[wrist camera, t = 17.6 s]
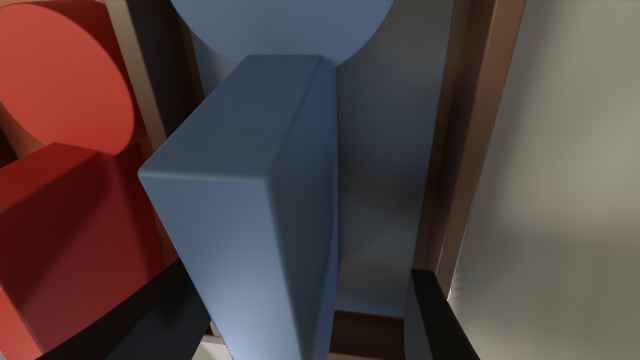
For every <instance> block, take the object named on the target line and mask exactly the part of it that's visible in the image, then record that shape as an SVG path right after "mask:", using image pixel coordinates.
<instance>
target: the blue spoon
mask: <svg viewBox="0 0 640 360" xmlns="http://www.w3.org/2000/svg"><path fill="white" fill-rule="evenodd" d="M171 2H172V4H173V5H174V7H175V9H176V10H177V11H178V13H179V14H180V16H181V17H182V18H183V20H184V21H185V23H186V24H187V25H188V26H189V27H190V28H191V29H192V31H193V32H194V33H195V34H196V35H197V36H198V37H199V38H200V39H201V40H202V41H203V42H204V43H205V44H206V45H208V46H209V47H210V48H211V49H213V50H214V51H215V52H216V53H218V54H219V55H220V56H222V57H224V58H225V59H227V60H228V61H230V62H232V63H233V64H235V65H237V66H236V67H235V68H234V69H233V70H232V72H231V73H230V74H229V75H228V76H227V77H226V78H225V79H224V80H223V81H222V82H221V83H220V84H219V85H218V86H217V87H216V88H215V89H214V90H213V92H212V93H211V94H210V95H209V96H208V97H207V98H206V99H205V100H204V101H203V102H202V103H201V104H200V105H199V106H198V107H197V108H196V109H195V110H194V112H193V113H192V114H191V115H190V116H189V117H188V118H187V119H186V120H185V121H184V122H183V123H182V124H181V125H180V126H179V127H178V128H177V129H176V131H175V132H174V133H173V134H172V135H171V136H170V137H169V138H168V139H167V140H166V141H165V142H164V143H163V144H162V145H161V146H160V147H159V148H158V149H157V151H156V152H155V153H154V154H153V155H152V156H151V157H150V158H149V159H148V160H147V161H146V162H145V163H144V164H143V165H142V166H141V167H140V168H139V171H138V177H139V179H140V181H141V183H142V185H143V187H144V189H145V191H146V193H147V195H148V196H149V198H150V200H151V202H152V204H153V206H154V208H155V210H156V212H157V214H158V216H159V218H160V220H161V222H162V224H163V225H164V227H165V229H166V231H167V233H168V235H169V237H170V239H171V241H172V243H173V245H174V247H175V249H176V251H177V253H178V254H179V256H180V258H181V260H182V262H183V264H184V266H185V268H186V270H187V272H188V274H189V276H190V278H191V280H192V281H193V283H194V285H195V287H196V289H197V291H198V293H199V295H200V297H201V299H202V301H203V303H204V305H205V307H206V309H207V310H208V312H209V314H210V316H211V318H212V320H213V322H214V324H215V326H216V328H217V330H218V332H219V334H220V336H221V337H222V339H223V341H224V343H225V345H226V347H227V349H228V351H229V353H230V355H231V357H232V359H233V360H328V354H329V347H330V339H331V332H332V324H333V317H334V309H335V302H336V294H337V287H338V279H339V272H340V223H339V179H338V135H337V92H336V66H337V65H339V64H341V63H343V62H344V61H346V60H347V59H349V58H350V57H351V56H353V55H354V54H355V53H356V52H357V51H359V50H360V49H361V48H362V47H363V46H364V45H365V44H366V43H367V42H368V41H369V40H370V38H371V37H372V36H373V35H374V34H375V33H376V31H377V30H378V28H379V27H380V25H381V24H382V23H383V21H384V20H385V18H386V16H387V14H388V12H389V10H390V8H391V7H392V5H393V3H394V0H171Z"/></svg>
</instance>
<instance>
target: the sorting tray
mask: <svg viewBox="0 0 640 360" xmlns="http://www.w3.org/2000/svg"><path fill="white" fill-rule="evenodd" d="M34 1H49V0H0V8H1V7H3V6H5V5H9V4H12V3H20V2H34ZM91 1H95V2H98V3H100V4H103V5H105V6H106V7H107V10H108V14H109V17H110V20H111V23H112V26H113V29H114V32H115V35H116V38H117V41H118V44H119V47H120V50H121V53H122V56H123V59H124V62H125V66H126V69H127V72H128V75H129V78H130V81H131V84H132V87H133V90H134V93H135V96H136V99H137V102H138V105H139V108H140V111H141V115H142V118H143V121H144V124H145V127H146V130H147V133H148V135H147V136H145V137H144V138H142V139H141V140H139V143H140V148H141V153H142V158H143V163H145V162H146V161H147V160H148V159H149V158H150V157H151V156H152V155H153V154H154V153H155V152H156V151H157V149H158V148H159V147H160V146H161V145H162V144H163V143H164V142H165V141H166V140H167V139H168V138H169V137H170V136H171V135H172V134H173V133H174V132H175V131H176V129H177V128H178V127H179V126H180V125H181V124H182V123H183V122H184V121H185V120H186V119H187V118H188V117H189V116H190V115H191V114H192V113H193V112H194V110H195V109H196V108H197V107H198V106H199V105H200V104H201V103H202V102H203V101H204V100H205V99H206V98H207V97H208V96H209V95H210V94H211V93H212V92H213V90H214V89H215V88H216V87H217V86H218V85H219V84H220V83H221V82H222V81H223V80H224V79H225V78H226V77H227V76H228V75H229V74H230V73H231V72H232V70H233V69H234V68H235V67H236V66H237V65H235V64H233V63H232V62H230V61H228V60H227V59H225V58H224V57H222V56H220V55H219V54H218V53H216V52H215V51H214V50H213V49H211V48H210V47H209V46H208V45H206V44H205V43H204V42H203V41H202V40H201V39H200V38H199V37H198V36H197V35H196V34H195V33H194V32H193V31H192V29H191V28H190V27H189V26H188V25H187V24H186V23H185V21H184V20H183V18H182V17H181V16H180V14H179V13H178V11H177V10H176V9H175V7H174V5H173V4H172V2H171V0H91ZM525 4H526V0H394V3H393V5H392V7H391V8H390V10H389V12H388V14H387V16H386V18H385V20H384V21H383V23H382V24H381V25H380V27H379V28H378V30H377V31H376V33H375V34H374V35H373V36H372V37H371V38H370V40H369V41H368V42H367V43H366V44H365V45H364V46H363V47H362V48H361V49H360V50H359V51H357V52H356V53H355V54H354V55H353V56H351V57H350V58H349V59H347V60H346V61H344V62H343V63H341V64H339V65H337V66H336V92H337V135H338V179H339V223H340V272H339V279H338V287H337V294H336V302H335V309H334V317H333V324H332V332H331V339H330V347H329V354H328V360H406V357H405V348H404V308H405V302H406V296H407V289H408V283H409V277H410V271H411V269H420V270H430V271H433V272H434V273H435V274H436V277H437V279H438V281H439V284H440V286H441V288H442V290H443V293H444V295H445V297H446V299H447V301H448V299H449V296H450V292H451V288H452V284H453V280H454V276H455V273H456V269H457V265H458V261H459V257H460V253H461V250H462V246H463V242H464V238H465V234H466V230H467V227H468V223H469V219H470V215H471V211H472V207H473V203H474V200H475V196H476V192H477V188H478V184H479V180H480V177H481V173H482V169H483V165H484V161H485V157H486V154H487V150H488V146H489V142H490V138H491V134H492V131H493V127H494V123H495V119H496V115H497V111H498V107H499V104H500V100H501V96H502V92H503V88H504V84H505V81H506V77H507V73H508V69H509V65H510V61H511V58H512V54H513V50H514V46H515V42H516V38H517V35H518V31H519V27H520V23H521V19H522V15H523V12H524V8H525ZM45 146H46V145H45V144H43V143H42V142H40V141H39V140H38V139H36V138H35V137H34V136H32V135H31V134H30V133H29V132H28V131H27V130H25V129H24V128H23V127H22V126H21V125H20V124H19V123H18V122H17V121H16V120H15V119H14V118H13V116H12V115H11V114H10V113H9V111H8V110H7V109H6V108H5V106H4V105H3V103H2V102H1V101H0V169H1V168H3V167H5V166H7V165H9V164H11V163H13V162H15V161H17V160H19V159H21V158H23V157H25V156H27V155H29V154H31V153H33V152H35V151H37V150H39V149H41V148H43V147H45ZM151 203H152V202H151ZM152 208H153V213H154V218H155V223H156V228H157V233H158V238H159V243H160V248H161V253H162V258H163V263H164V268H165V269H166V268H167V267H168V266H169V265H171V264H172V263H173V262H174V261H176V260H177V259H178V258H179V257H180V256H179V254H178V253H177V251H176V249H175V247H174V245H173V243H172V241H171V239H170V237H169V235H168V233H167V231H166V229H165V227H164V225H163V224H162V222H161V220H160V218H159V216H158V214H157V212H156V210H155V208H154V206H153V204H152ZM201 342H208V343H214V344H221V345H225V343H224V341H223V339H222V337H221V336H220V334H219V332H218V330H217V328H216V326H215V324H214V322H213V320H211V322H210V324H209V326H208V328H207V330H206V332H205V334H204V336H203V338H202V340H201Z"/></svg>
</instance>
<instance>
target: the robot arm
mask: <svg viewBox="0 0 640 360" xmlns="http://www.w3.org/2000/svg"><path fill="white" fill-rule="evenodd" d="M211 320H212V318H211V316H210V314H209V312H208V310H207V309H206V307H205V305H204V303H203V301H202V299H201V297H200V295H199V293H198V291H197V289H196V287H195V285H194V283H193V281H192V280H191V278H190V276H189V274H188V272H187V270H186V268H185V266H184V264H183V262H182V260H181V258H180V257H179V258H178V259H177V260H176V261H174V262H173V263H172V264H171V265H169V266H168V267H167V268H166V269H164V270H163V271H162V272H160V273H159V274H158V275H157V276H155V277H154V278H153V279H152V280H150V281H149V282H148V283H146V284H145V285H144V286H143V287H141V288H140V289H139V290H137V291H136V292H135V293H134V294H132V295H131V296H130V297H128V298H127V299H125V300H124V301H123V302H121V303H120V304H118V305H117V306H116V307H114V308H113V309H112V310H110V311H109V312H107V313H106V314H105V315H103V316H102V317H100V318H99V319H98V320H96V321H95V322H93V323H92V324H90V325H89V326H88V327H86V328H85V329H83V330H81V331H80V332H78V333H77V334H75V335H74V336H72V337H71V338H69V339H68V340H66V341H64V342H63V343H61V344H60V345H58V346H56V347H55V348H53V349H52V350H50V351H48V352H47V353H45V354H43V355H42V356H40V357H38V358H36V359H35V360H191V359H192V357H193V356H194V354H195V352H196V350H197V348H198V346H199V344H200V342H201V340H202V338H203V336H204V334H205V332H206V330H207V328H208V326H209V324H210V322H211ZM404 348H405V357H406V360H480V358H479V357H478V355H477V353H476V352H475V350H474V348H473V347H472V345H471V343H470V341H469V340H468V338H467V336H466V334H465V333H464V331H463V329H462V327H461V326H460V324H459V322H458V320H457V318H456V316H455V315H454V313H453V311H452V309H451V307H450V305H449V303H448V301H447V299H446V297H445V295H444V293H443V290H442V288H441V286H440V284H439V281H438V279H437V277H436V274H435V273H434V272H433V271H430V270H420V269H411V271H410V277H409V283H408V289H407V296H406V302H405V308H404ZM0 360H7V359H6V358H5V356H4V355H3V354H2V352H1V351H0Z"/></svg>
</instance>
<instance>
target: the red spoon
mask: <svg viewBox="0 0 640 360" xmlns="http://www.w3.org/2000/svg"><path fill="white" fill-rule="evenodd" d="M0 101H1V102H2V103H3V105H4V106H5V108H6V109H7V110H8V111H9V113H10V114H11V115H12V116H13V118H14V119H15V120H16V121H17V122H18V123H19V124H20V125H21V126H22V127H23V128H24V129H25V130H27V131H28V132H29V133H30V134H31V135H32V136H34V137H35V138H36V139H38V140H39V141H40V142H42V143H43V144H45V145H46V146H45V147H43V148H41V149H39V150H37V151H35V152H33V153H31V154H29V155H27V156H25V157H23V158H21V159H19V160H17V161H15V162H13V163H11V164H9V165H7V166H5V167H3V168H1V169H0V351H1V352H2V354H3V355H4V356H5V358H6V359H7V360H35V359H36V358H38V357H40V356H42V355H43V354H45V353H47V352H48V351H50V350H52V349H53V348H55V347H56V346H58V345H60V344H61V343H63V342H64V341H66V340H68V339H69V338H71V337H72V336H74V335H75V334H77V333H78V332H80V331H81V330H83V329H85V328H86V327H88V326H89V325H90V324H92V323H93V322H95V321H96V320H98V319H99V318H100V317H102V316H103V315H105V314H106V313H107V312H109V311H110V310H112V309H113V308H114V307H116V306H117V305H118V304H120V303H121V302H123V301H124V300H125V299H127V298H128V297H130V296H131V295H132V294H134V293H135V292H136V291H137V290H139V289H140V288H141V287H143V286H144V285H145V284H146V283H148V282H149V281H150V280H152V279H153V278H154V277H155V276H157V275H158V274H159V273H160V272H162V271H163V270H164V269H165V268H164V263H163V258H162V253H161V248H160V243H159V238H158V233H157V228H156V223H155V218H154V213H153V208H152V203H151V200H150V198H149V196H148V195H147V193H146V191H145V189H144V187H143V185H142V183H141V181H140V179H139V177H138V171H139V168H140V167H141V166H142V165H143V164H144V163H143V158H142V153H141V148H140V143H139V140H141V139H142V138H144V137H145V136H147V135H148V133H147V130H146V127H145V124H144V121H143V118H142V115H141V111H140V108H139V105H138V102H137V99H136V96H135V93H134V90H133V87H132V84H131V81H130V78H129V75H128V72H127V69H126V66H125V62H124V59H123V56H122V53H121V50H120V47H119V44H118V41H117V38H116V35H115V32H114V29H113V26H112V23H111V20H110V17H109V14H108V10H107V7H106V6H105V5H103V4H100V3H98V2H95V1H91V0H49V1H34V2H20V3H12V4H9V5H5V6H3V7H1V8H0Z"/></svg>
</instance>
